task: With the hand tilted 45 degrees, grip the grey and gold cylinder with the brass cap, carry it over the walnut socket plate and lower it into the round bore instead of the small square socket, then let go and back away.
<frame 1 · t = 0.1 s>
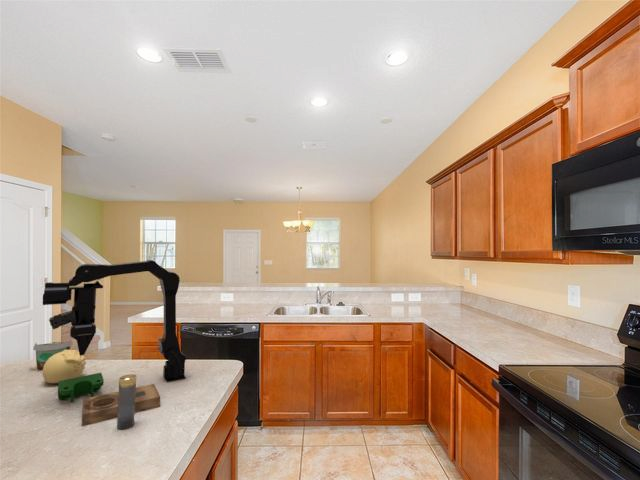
hand: (82, 351, 101), 15 cm above the countertop, tool pointing down, fingers open, 9 cm apart
socket plate: (121, 407, 94), on the countertop
sculpture: (64, 381, 112), on the countertop
food container: (50, 369, 123), on the countertop
grey and gold cylinder: (125, 425, 85), on the countertop
clamp: (80, 398, 100), on the countertop
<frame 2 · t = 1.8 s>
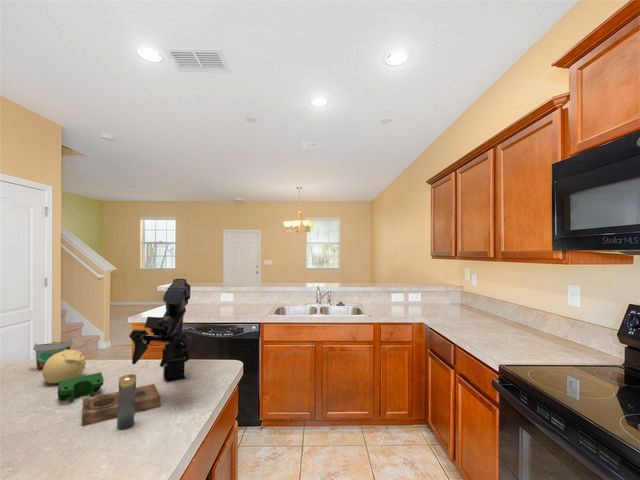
hand: (146, 365, 93), 13 cm above the countertop, tool tilted 45°, fingers open, 9 cm apart
nothing on the countertop moved.
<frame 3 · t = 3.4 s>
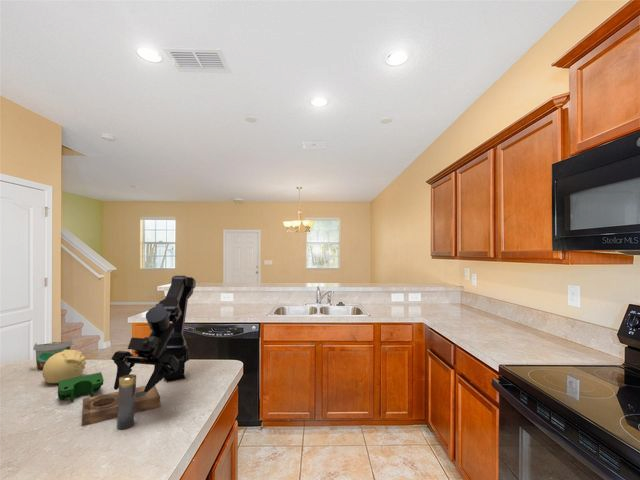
hand: (130, 390, 86), 9 cm above the countertop, tool tilted 45°, fingers open, 9 cm apart
nothing on the countertop moved.
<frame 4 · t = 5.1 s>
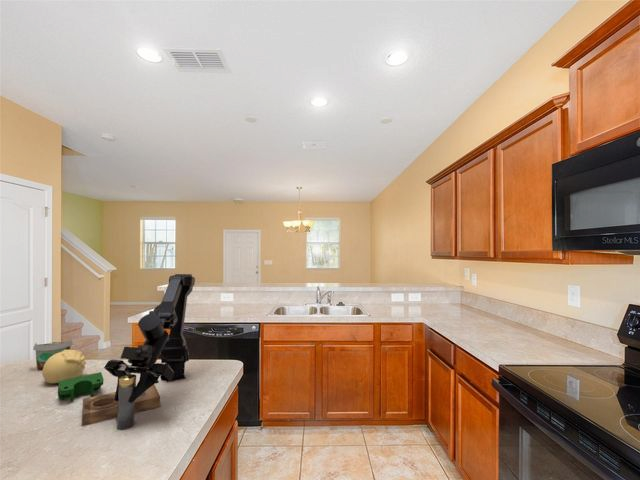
hand: (122, 401, 84), 7 cm above the countertop, tool tilted 45°, fingers closed on grey and gold cylinder, 4 cm apart
grey and gold cylinder: (125, 425, 85), on the countertop, touching gripper
everything else where it was.
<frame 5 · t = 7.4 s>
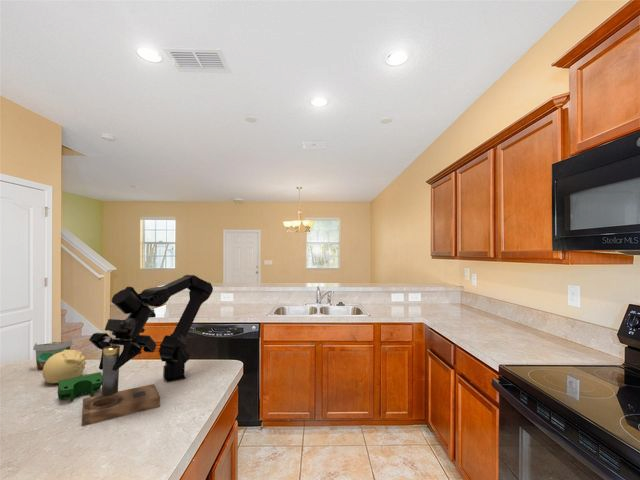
hand: (107, 369, 89), 13 cm above the countertop, tool tilted 45°, fingers closed on grey and gold cylinder, 4 cm apart
grey and gold cylinder: (109, 392, 90), point 6 cm above the countertop, touching gripper
everything else where it was.
when the fingers open (8 cm above the countertop, at t = 9.5 s): grey and gold cylinder drops 1 cm, resting in socket plate.
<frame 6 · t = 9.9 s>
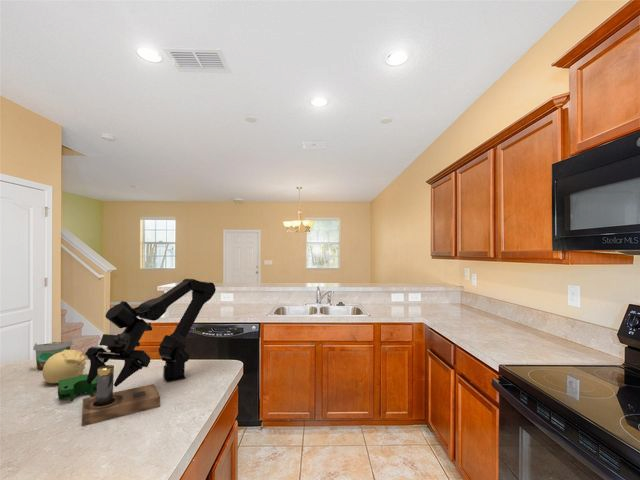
hand: (101, 384, 90), 9 cm above the countertop, tool tilted 45°, fingers open, 9 cm apart
grey and gold cylinder: (103, 412, 91), resting in socket plate
everything else where it was.
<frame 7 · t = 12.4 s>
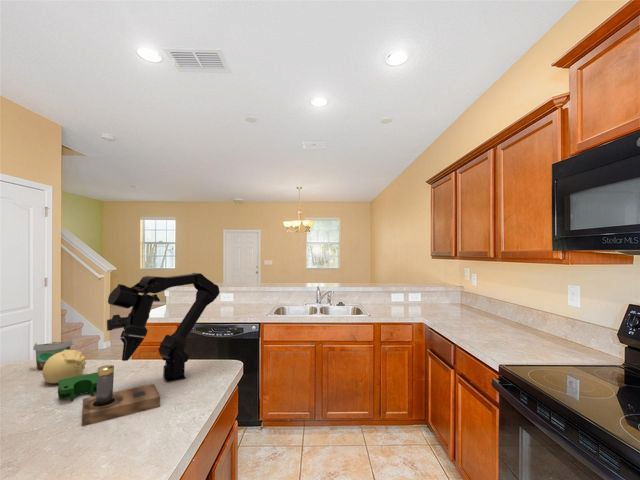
hand: (124, 360, 99), 12 cm above the countertop, tool tilted 25°, fingers open, 9 cm apart
nothing on the countertop moved.
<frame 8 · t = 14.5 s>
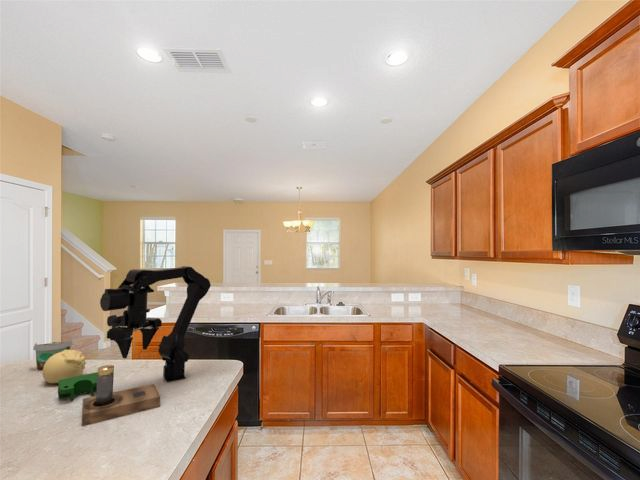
hand: (135, 353, 104), 13 cm above the countertop, tool pointing down, fingers open, 9 cm apart
at the end: grey and gold cylinder 0.0 cm from the target spot on the socket plate, point 0.0 cm above the socket plate's base; grey and gold cylinder tilted 0°; the gripper is holding nothing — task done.
